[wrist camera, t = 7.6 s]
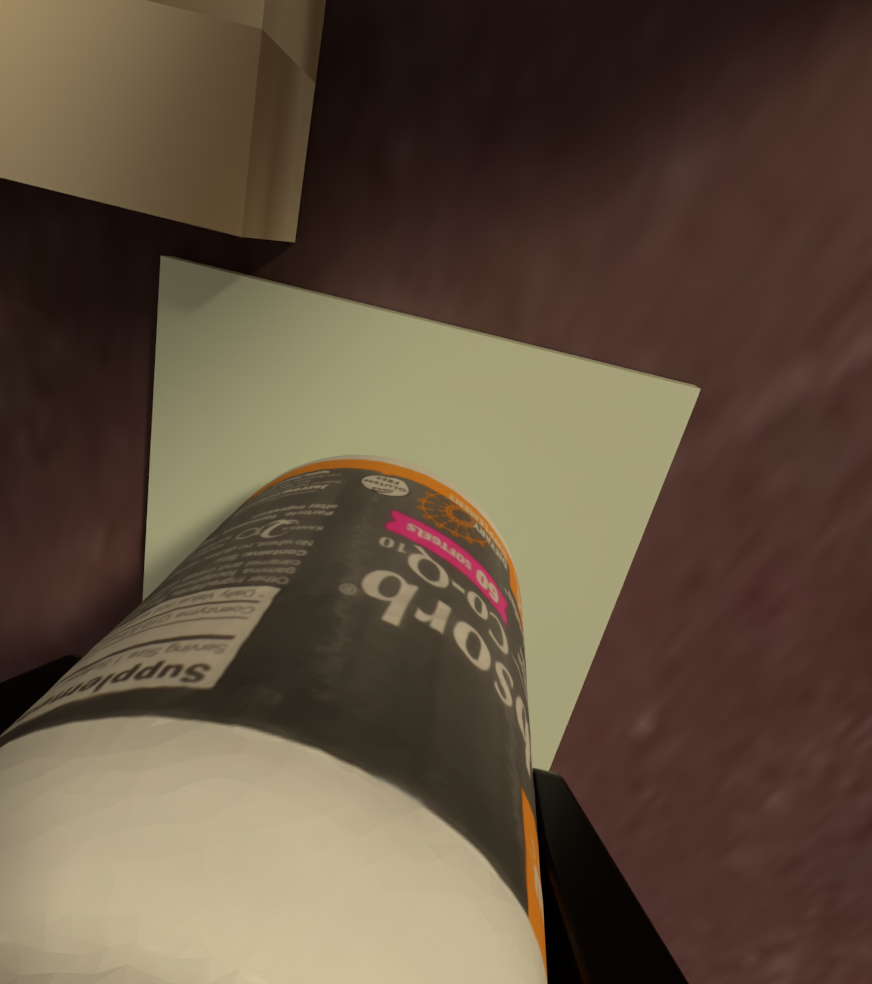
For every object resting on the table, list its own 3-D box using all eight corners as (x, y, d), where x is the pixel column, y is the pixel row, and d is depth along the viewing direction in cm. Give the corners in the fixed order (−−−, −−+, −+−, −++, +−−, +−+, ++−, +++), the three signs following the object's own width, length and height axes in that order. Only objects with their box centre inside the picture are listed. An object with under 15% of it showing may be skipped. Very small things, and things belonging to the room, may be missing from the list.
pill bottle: (574, 631, 12) (896, 2083, 2) (338, 741, 13) (-26, 1890, 4) (411, 382, 10) (-423, 1677, 1) (167, 538, 12) (-1091, 1620, 2)
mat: (693, 385, 11) (701, 389, 11) (539, 776, 15) (540, 789, 14) (171, 256, 11) (160, 255, 11) (146, 680, 15) (137, 691, 14)
